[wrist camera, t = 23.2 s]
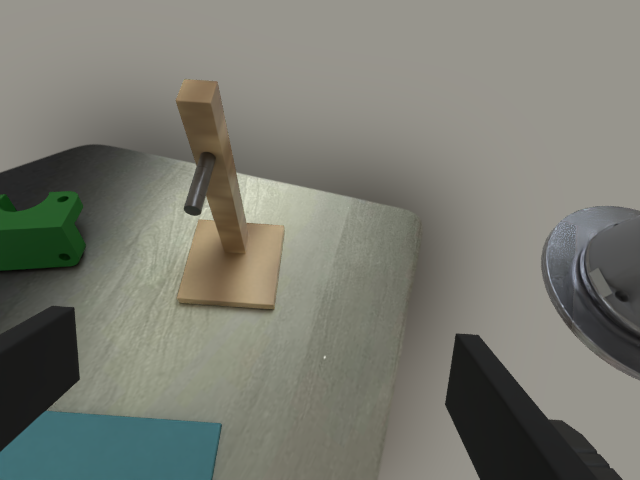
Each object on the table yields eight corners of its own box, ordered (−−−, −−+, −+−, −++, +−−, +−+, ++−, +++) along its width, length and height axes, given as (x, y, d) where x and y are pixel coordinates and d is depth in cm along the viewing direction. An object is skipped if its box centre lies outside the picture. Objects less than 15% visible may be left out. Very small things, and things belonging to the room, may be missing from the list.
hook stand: (284, 231, 47) (274, 69, 29) (274, 309, 41) (253, 171, 23) (200, 224, 47) (138, 59, 29) (179, 302, 41) (86, 158, 23)
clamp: (94, 250, 49) (99, 195, 44) (77, 287, 45) (81, 231, 39) (-23, 226, 45) (-33, 162, 39) (-53, 265, 41) (-69, 198, 35)
